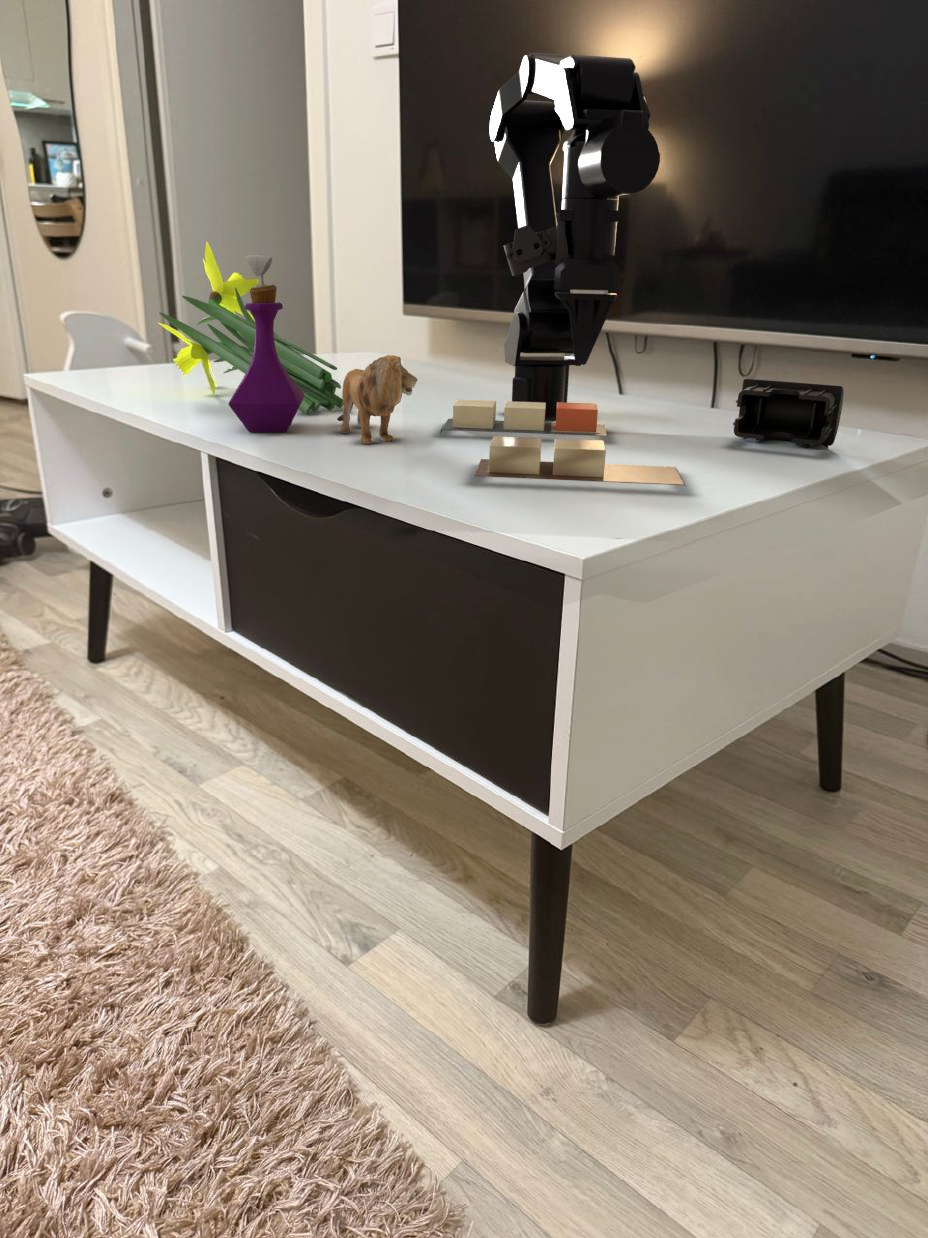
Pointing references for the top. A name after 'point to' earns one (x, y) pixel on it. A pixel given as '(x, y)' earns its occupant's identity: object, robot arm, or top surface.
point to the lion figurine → (375, 394)
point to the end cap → (789, 411)
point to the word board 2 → (566, 463)
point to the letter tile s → (576, 417)
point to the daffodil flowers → (247, 341)
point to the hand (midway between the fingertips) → (579, 359)
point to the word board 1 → (506, 418)
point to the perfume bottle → (265, 366)
